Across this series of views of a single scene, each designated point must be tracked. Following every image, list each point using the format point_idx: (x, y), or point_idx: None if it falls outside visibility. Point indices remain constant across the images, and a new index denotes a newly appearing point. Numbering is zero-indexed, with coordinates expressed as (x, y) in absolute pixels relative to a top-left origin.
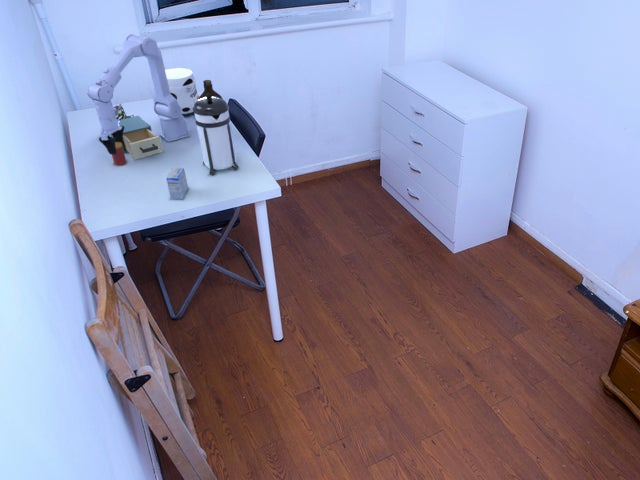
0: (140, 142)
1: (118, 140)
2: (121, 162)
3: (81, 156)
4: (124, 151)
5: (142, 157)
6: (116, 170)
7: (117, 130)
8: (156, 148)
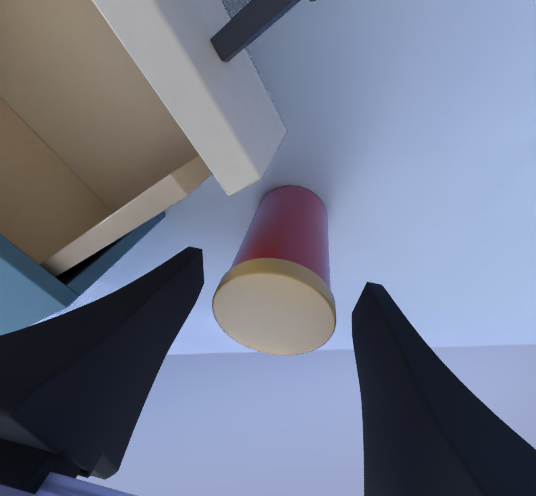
0: (167, 14)
1: (180, 299)
2: (325, 215)
3: (211, 348)
4: (157, 215)
5: (251, 60)
6: (390, 229)
7: (93, 410)
8: None
